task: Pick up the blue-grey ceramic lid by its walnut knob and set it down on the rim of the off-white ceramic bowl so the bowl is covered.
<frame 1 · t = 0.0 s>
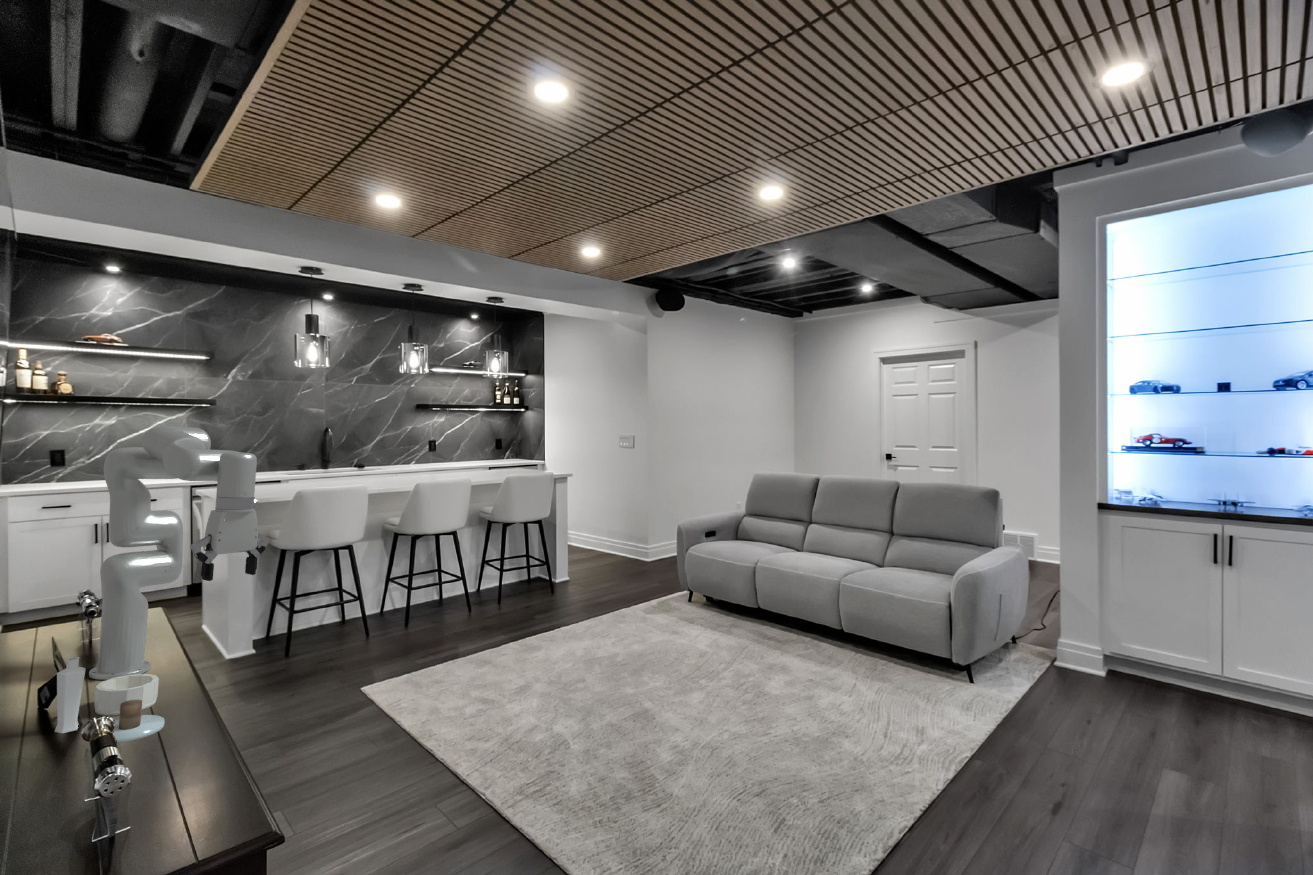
hand: (229, 577, 149), 31 cm above the table, tool pointing down, fingers open, 9 cm apart
perfume bottle: (68, 729, 135), on the table
lid: (129, 731, 136), on the table
bowl: (126, 705, 148), on the table
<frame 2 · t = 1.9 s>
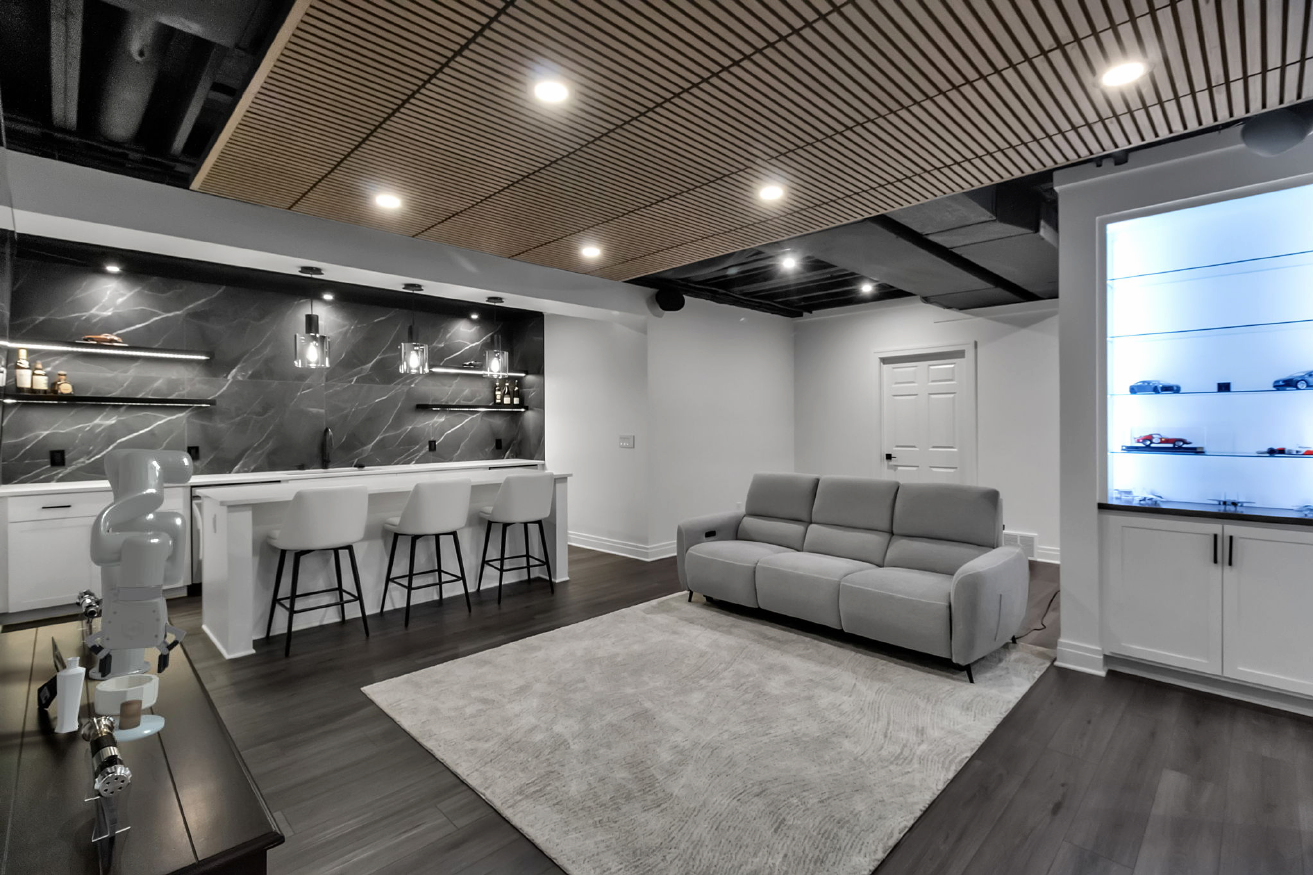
hand: (133, 673, 136), 12 cm above the table, tool pointing down, fingers open, 9 cm apart
nothing on the table moved.
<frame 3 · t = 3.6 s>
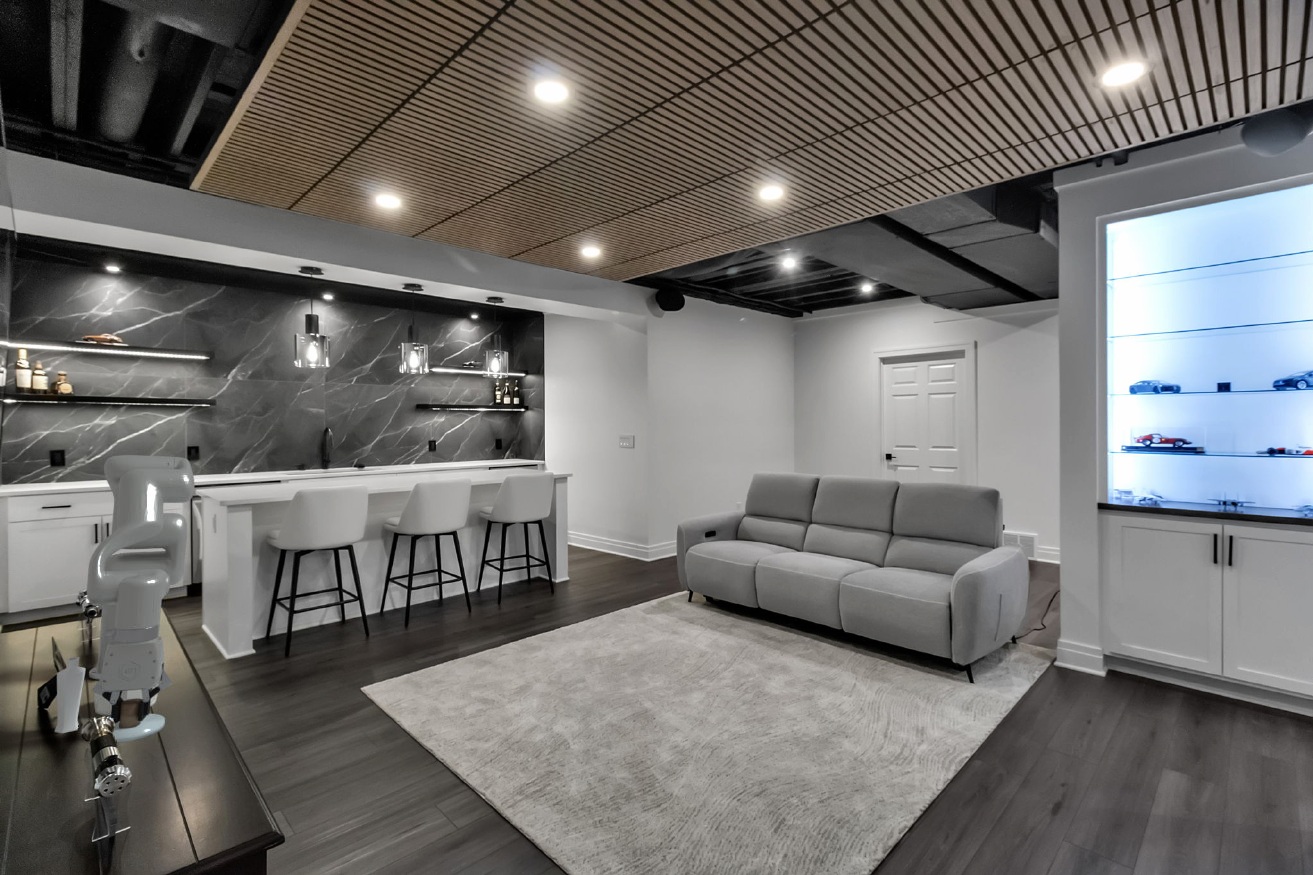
hand: (130, 718, 136), 2 cm above the table, tool pointing down, fingers closed on lid, 3 cm apart
lid: (129, 730, 136), on the table, touching gripper
everything else where it was.
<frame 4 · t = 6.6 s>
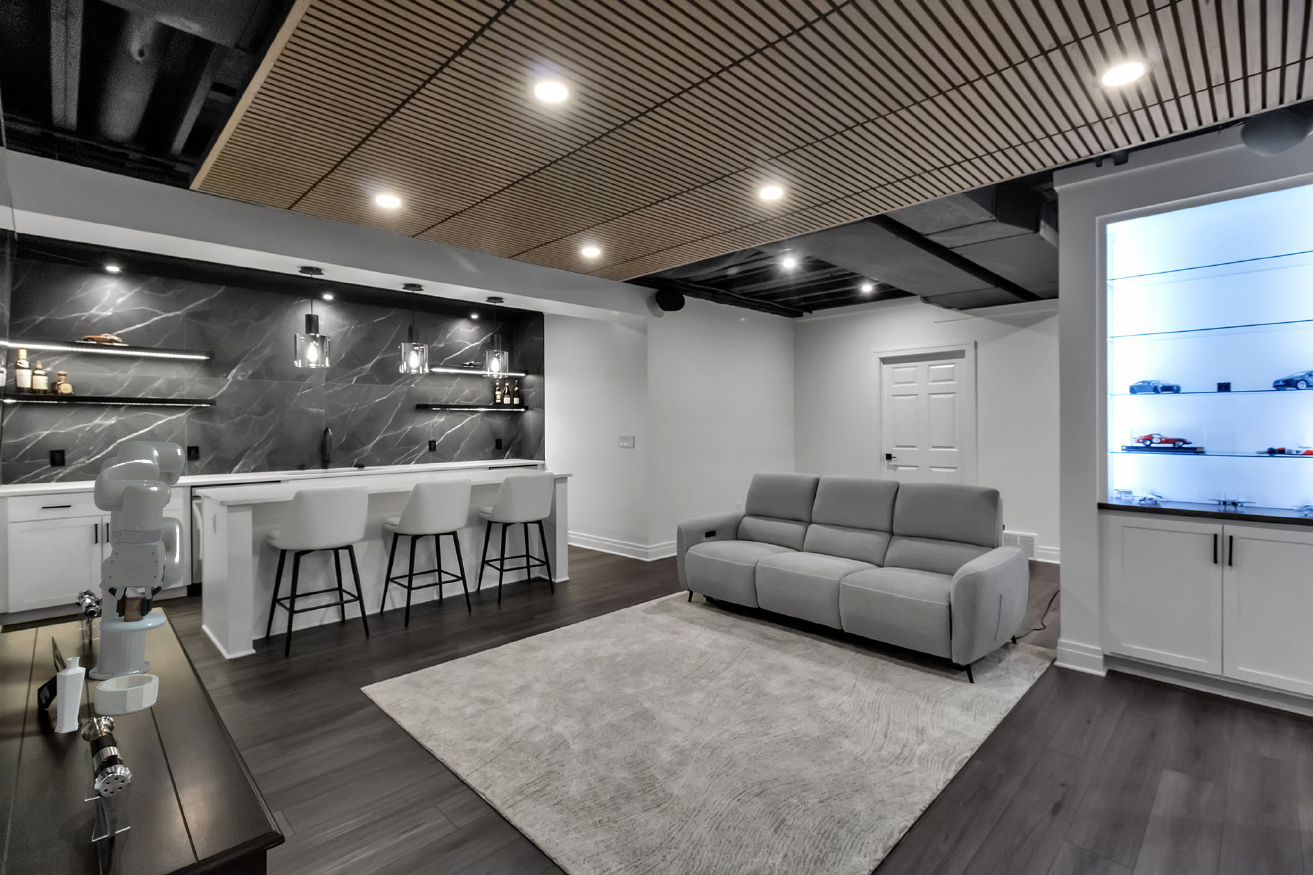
hand: (133, 614, 148), 22 cm above the table, tool pointing down, fingers closed on lid, 3 cm apart
lid: (133, 624, 148), point 19 cm above the table, touching gripper
everything else where it was.
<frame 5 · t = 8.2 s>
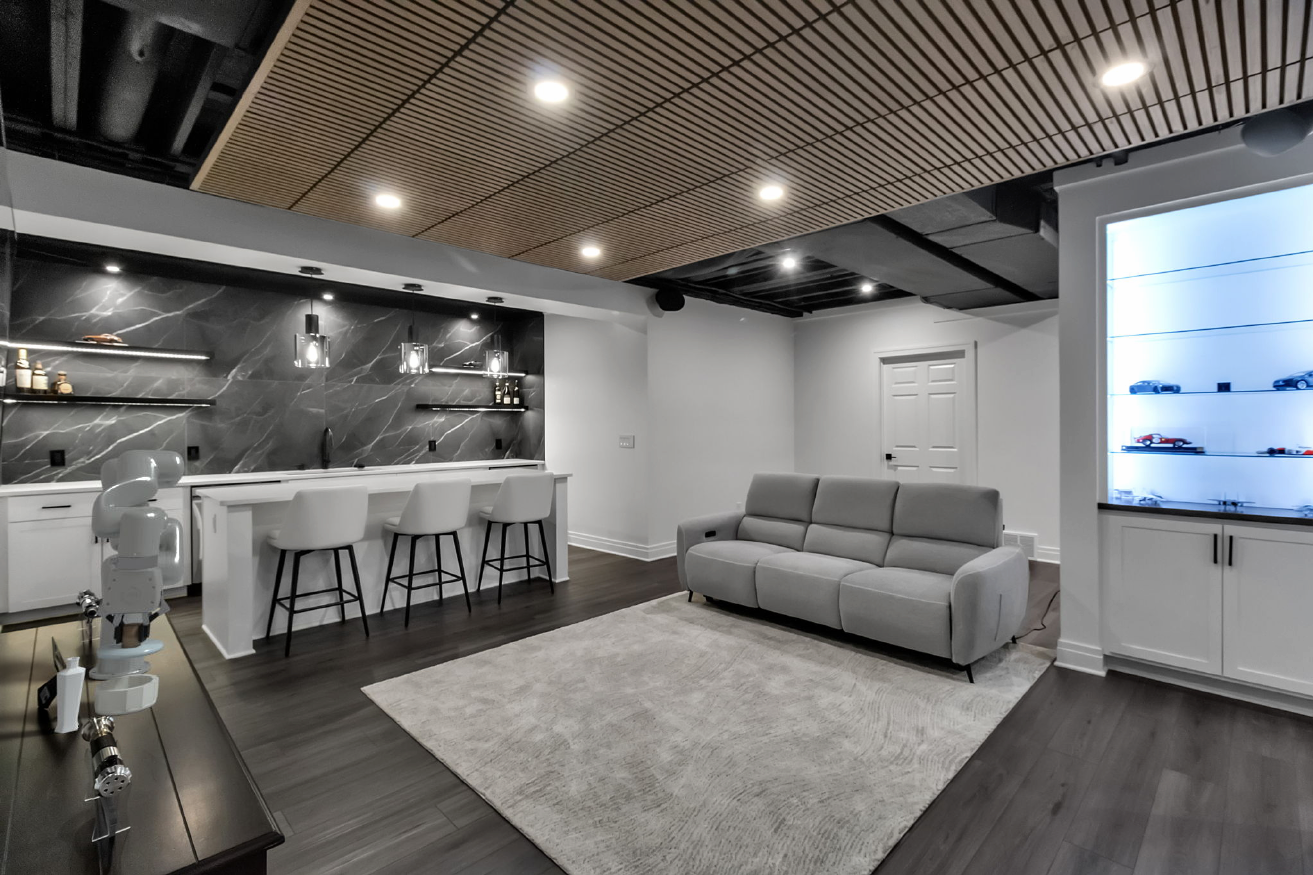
hand: (131, 640, 148), 15 cm above the table, tool pointing down, fingers closed on lid, 3 cm apart
lid: (130, 651, 148), point 13 cm above the table, touching gripper
everything else where it was.
when the fingers open (9 cm above the table, at t = 9.6 s): lid drops 1 cm, resting on bowl.
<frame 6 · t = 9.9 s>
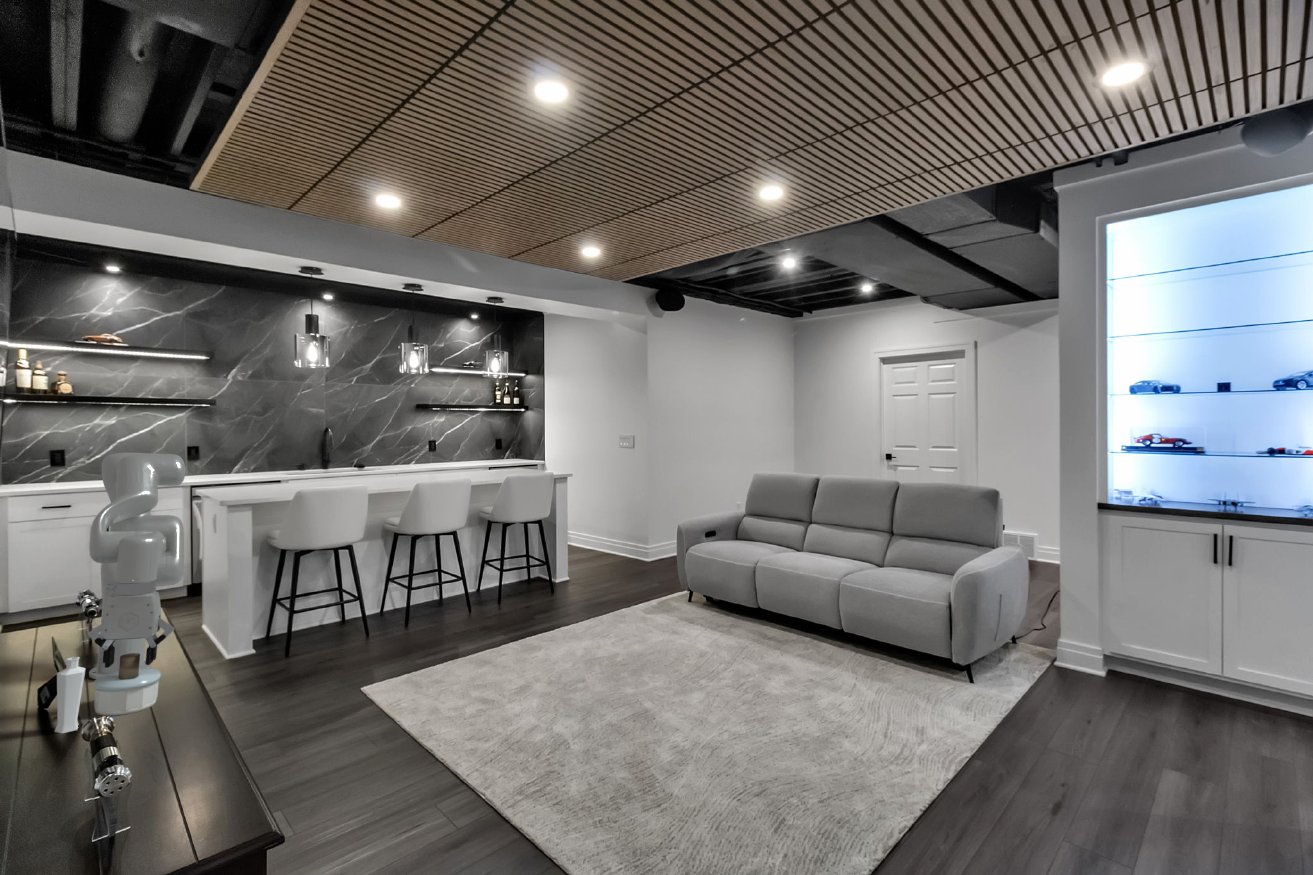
hand: (129, 663, 148), 10 cm above the table, tool pointing down, fingers open, 7 cm apart
lid: (128, 682, 148), point 5 cm above the table, touching bowl
everything else where it was.
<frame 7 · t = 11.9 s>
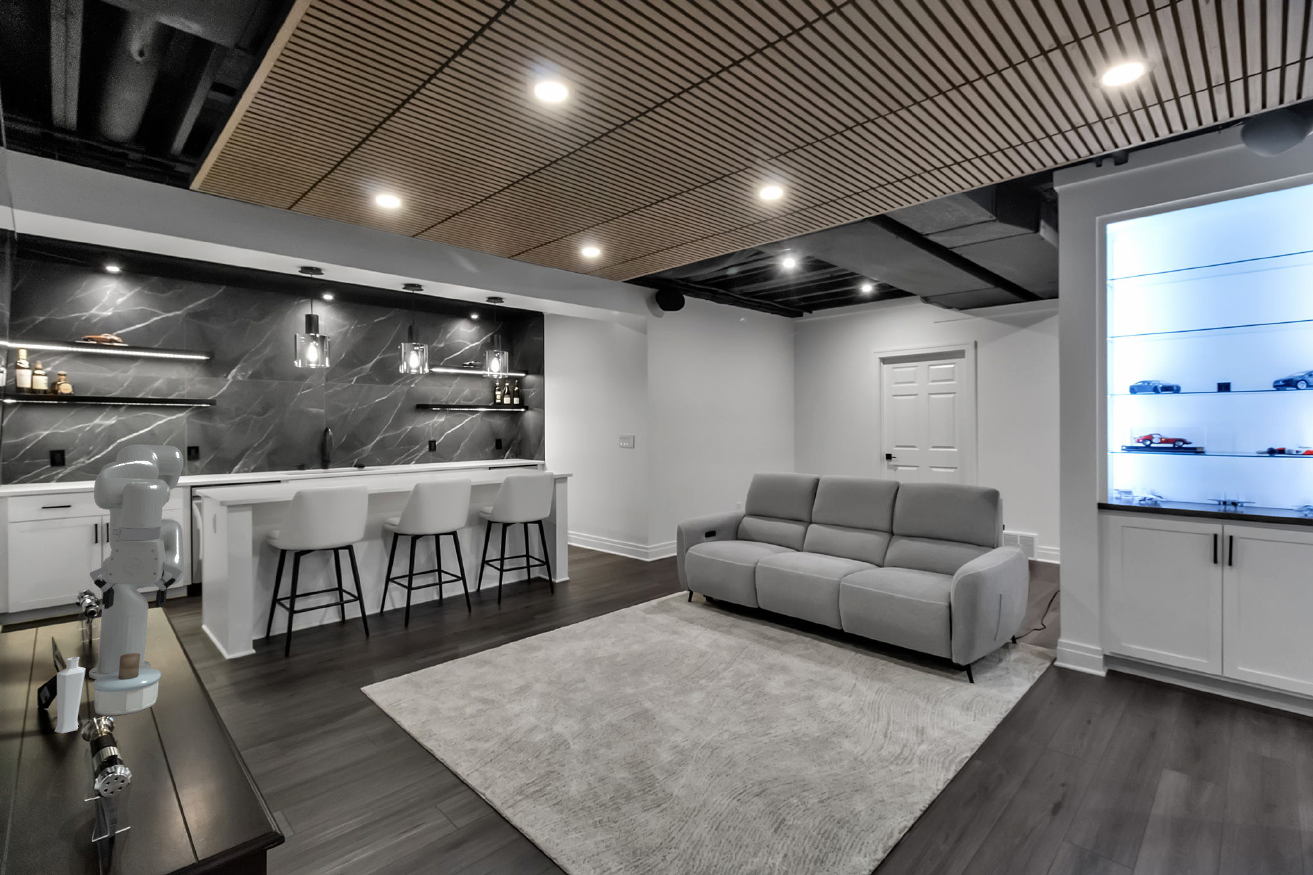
hand: (134, 606, 149), 23 cm above the table, tool pointing down, fingers open, 9 cm apart
nothing on the table moved.
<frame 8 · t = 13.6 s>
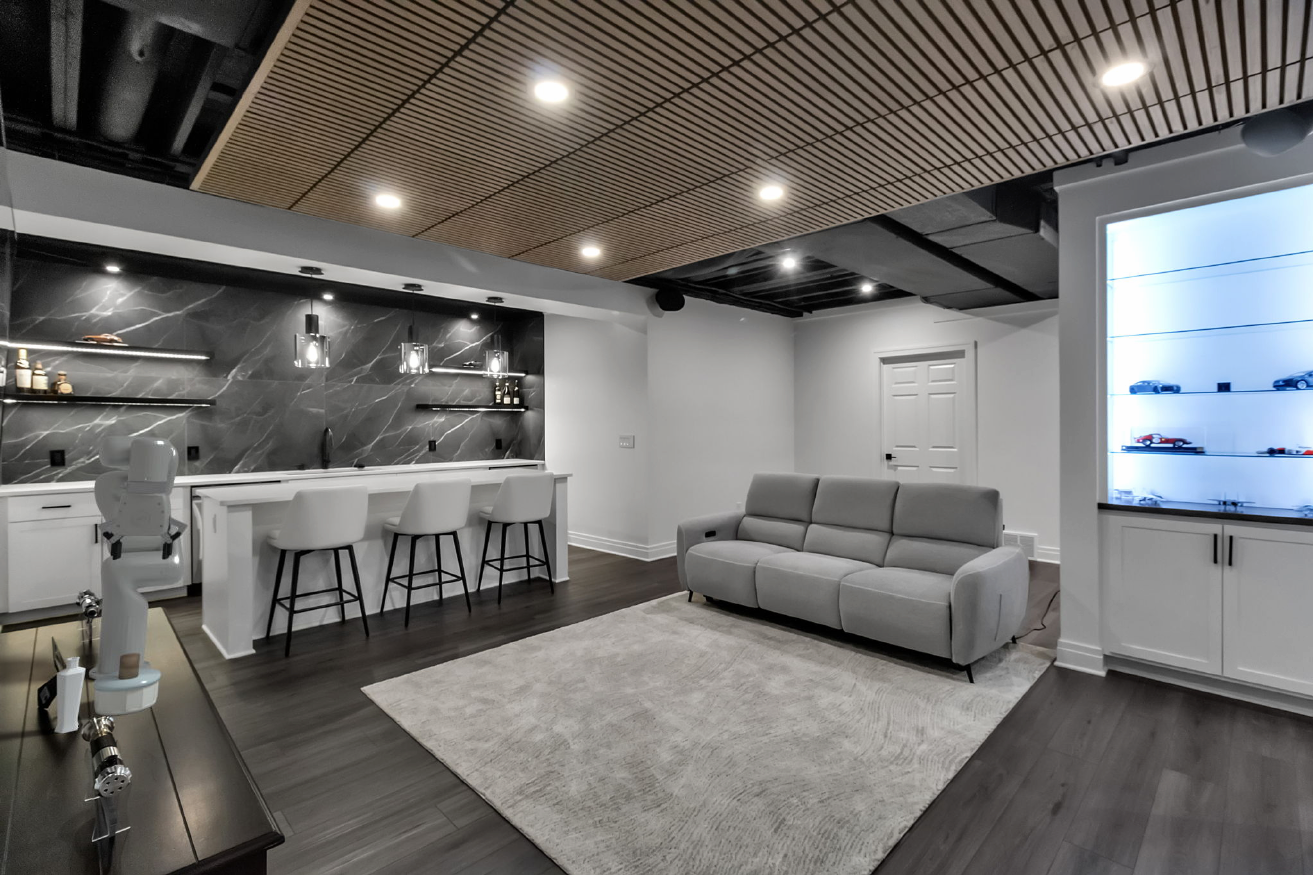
hand: (141, 558, 154), 33 cm above the table, tool pointing down, fingers open, 9 cm apart
nothing on the table moved.
at the end: lid 0.1 cm off-centre on the bowl, point 5.5 cm above the bowl's base; lid tilted 0°; lid touching bowl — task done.
